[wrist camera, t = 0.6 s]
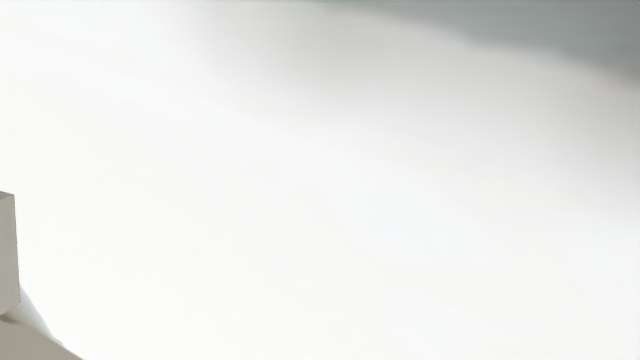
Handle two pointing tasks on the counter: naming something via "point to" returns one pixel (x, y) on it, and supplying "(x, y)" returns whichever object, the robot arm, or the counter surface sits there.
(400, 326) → the counter surface
